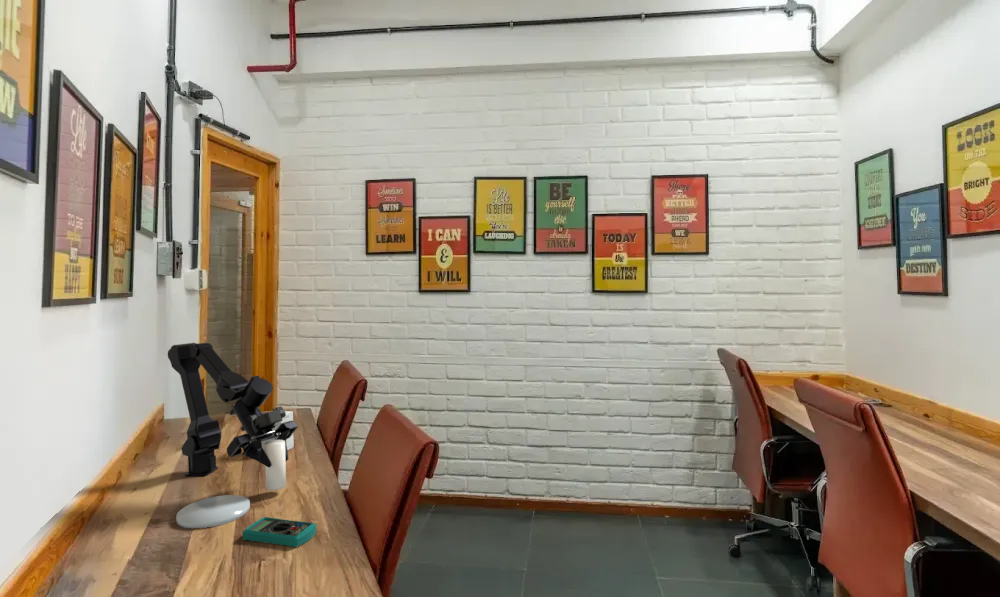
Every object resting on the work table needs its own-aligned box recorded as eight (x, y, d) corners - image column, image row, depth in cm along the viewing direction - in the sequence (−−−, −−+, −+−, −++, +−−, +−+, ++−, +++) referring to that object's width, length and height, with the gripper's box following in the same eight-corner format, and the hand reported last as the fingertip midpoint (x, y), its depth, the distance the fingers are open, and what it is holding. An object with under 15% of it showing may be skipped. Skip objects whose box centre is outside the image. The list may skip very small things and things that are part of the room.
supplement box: (281, 454, 173) (280, 416, 173) (261, 453, 175) (260, 415, 174) (294, 447, 181) (293, 410, 180) (275, 446, 182) (274, 410, 182)
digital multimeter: (299, 550, 113) (299, 536, 113) (241, 542, 117) (240, 529, 117) (319, 534, 120) (319, 521, 120) (263, 527, 124) (263, 514, 124)
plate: (160, 528, 123) (160, 523, 123) (202, 499, 139) (202, 494, 139) (227, 528, 122) (227, 523, 122) (261, 499, 138) (261, 495, 138)
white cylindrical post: (262, 490, 140) (261, 445, 139) (271, 482, 145) (270, 439, 144) (281, 490, 139) (279, 445, 139) (289, 483, 144) (288, 439, 144)
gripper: (232, 406, 135) (261, 456, 130) (292, 392, 151) (320, 435, 146) (214, 432, 139) (242, 481, 134) (275, 416, 155) (301, 459, 150)
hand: (279, 463), depth 141 cm, fingers closed on white cylindrical post, 5 cm apart
